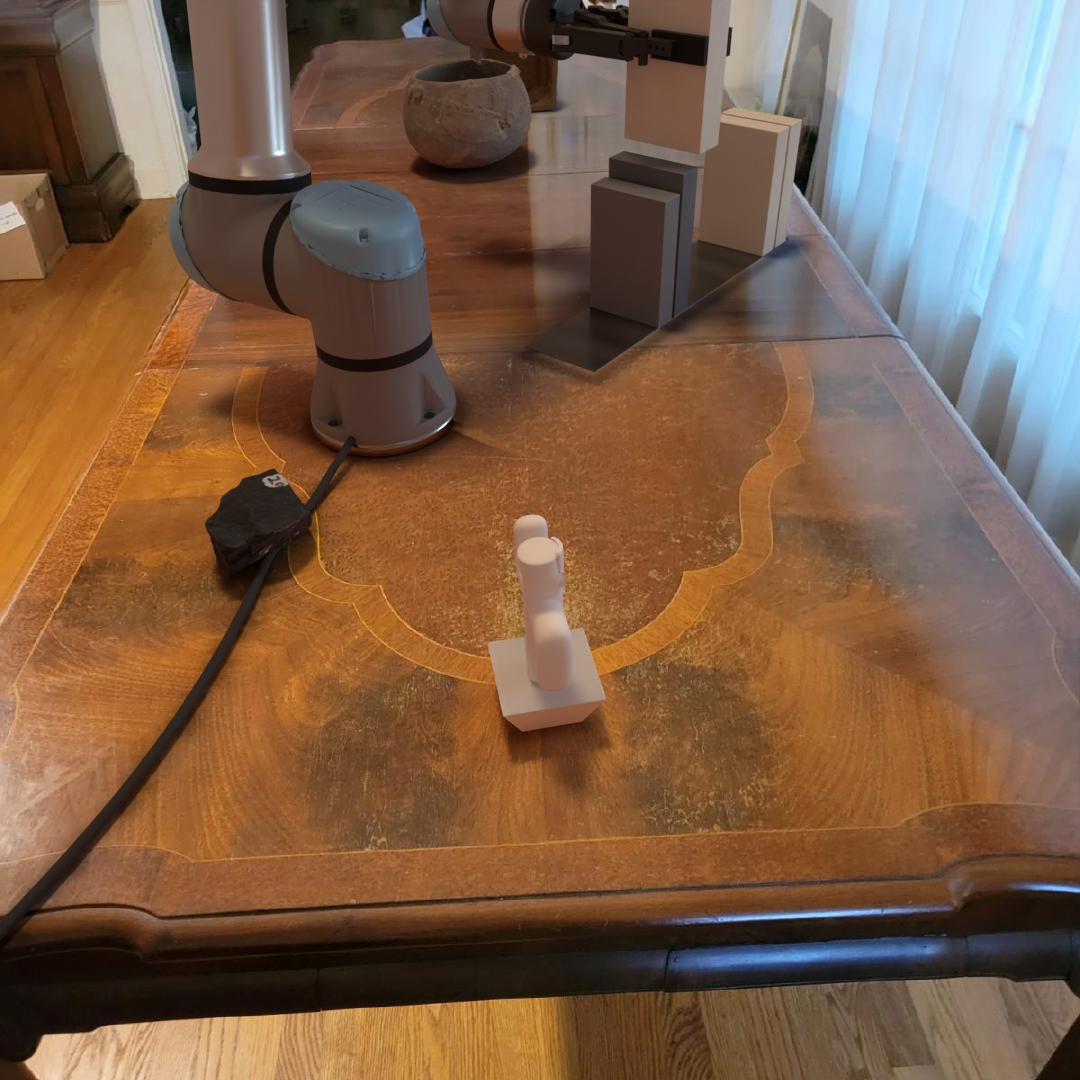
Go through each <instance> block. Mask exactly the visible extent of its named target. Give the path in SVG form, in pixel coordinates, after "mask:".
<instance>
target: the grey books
mask: <svg viewBox="0 0 1080 1080" xmlns="http://www.w3.org/2000/svg"><path fill="white" fill-rule="evenodd" d="M698 172H699V167H698V166H696V165H690V164H686V163H681V162H677V161H674V160H673V161H672V160H667V159H663V158H658V157H654V156H649V155H644V154H640V153H636V152H631V151H627V150H622V151H620V152H618V153H616V154H614V155H612V156H610V157H608V176H605V177H603V178H601V179H599V180H597V181H595V182H592V183H591V184H590V232H589V233H590V238H589V239H590V242H589V243H590V244H589V248H590V249H589V307H593V308H596V309H599V310H602V311H605V312H609V313H612V314H615V315H618V316H621V317H624V318H627V319H631V320H634V321H637V322H640V323H643V324H646V325H649V326H652V327H656V328H659V327H660V328H661V326H662V325H663V326H665V325H666V324H667V323H669V322H670V321H672V320H673V319H672V317H675V316H676V317H678V316H679V315H681V314H682V313H684V312H685V311H687V310H688V309H687V304H688V291H689V278H690V265H691V252H692V244H693V236H694V226H695V225H694V224H695V212H696V201H697V200H696V198H697V188H698V187H697V186H698V185H697V184H698V174H699V173H698ZM684 310H685V311H684ZM681 312H682V313H681ZM680 313H681V314H680ZM678 314H679V315H678ZM677 315H678V316H677ZM676 317H675V318H676ZM671 319H672V320H671ZM669 320H670V321H669ZM668 321H669V322H668ZM665 323H666V324H665ZM663 326H662V327H663ZM660 328H659V329H660Z"/></svg>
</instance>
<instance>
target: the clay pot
mask: <svg viewBox="0 0 1080 1080" xmlns="http://www.w3.org/2000/svg"><path fill="white" fill-rule="evenodd" d="M519 74H520V70H519V69H518V68H517V67H516V66H515V65H512V66H511V65H509V64H506V63H503V62H500V61H495V60H490V59H481V60H480V61H478V62H477V61H475V60H474V59H470V58H463V59H457V60H449V61H443V62H438V63H434V64H431V65H428V66H426V67H422V68H420V69H418V70H416V71H415V72H413V74H412V75H411V77H410V78H409V80H408V82H407V85H406V88H405V92H404V98H403V107H402V120H403V127H404V131H405V135H406V136H407V140H408V141H409V144H410V145H411V146H412V148H413V149H414V150H415V152H416V153H417V154H418V155H419V156H420V157H421V158H422V159H424V160H425V161H427V162H429V163H431V164H432V165H435V166H440V167H443V168H448V169H473V168H481V167H486V166H488V165H492V164H495V163H497V162H499V161H501V160H503V159H504V158H506V157H508V156H510V155H511V154H513V153H514V152H515V151H516V150H517V149H518V148H519V147H521V145H522V144H523V142H524V141H525V140H526V138H527V136H528V134H529V132H530V128H531V121H532V112H531V107H530V101H529V97H528V94H527V90H526V88H525V85H524V83H523V81H522V79H521V77H520V76H519Z"/></svg>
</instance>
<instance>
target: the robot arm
mask: <svg viewBox="0 0 1080 1080" xmlns="http://www.w3.org/2000/svg"><path fill="white" fill-rule="evenodd" d="M286 7H287V6H286V0H186V8H187V9H186V10H187V19H188V29H189V38H190V47H191V48H190V49H191V56H192V57H191V58H192V65H193V66H192V69H193V76H194V85H195V86H194V87H195V96H196V106H197V115H198V124H199V134H200V143H201V145H200V147H199V149H198V150H197V152H195V154H193V156H192V157H191V158H190V159H189V160H188V161H187V163H186V164H187V167H186V169H187V177H188V180H186V181H185V182H184V183H183V184H182V185H181V186H180V187H179V189H178V190H177V191H176V194H175V197H176V201H175V202H174V203H172V204H171V205H170V209H169V216H168V233H169V240H170V244H171V247H172V250H173V254H174V256H175V258H176V260H177V262H178V263H179V265H180V267H181V269H182V270H183V272H185V274H186V275H187V276H188V277H189V278H190V279H191V281H193V282H194V283H195V284H197V285H198V286H200V287H201V288H202V289H205V290H206V291H209V292H212V293H215V294H218V295H220V296H221V297H222V298H225V299H227V300H229V301H231V302H235V303H236V302H237V303H238V302H239V303H243V304H245V303H246V304H250V305H254V306H256V307H257V306H258V307H261V308H264V309H268V310H271V311H272V310H273V311H275V312H276V311H277V312H280V313H284V314H288V315H291V316H296V317H299V318H303V319H306V320H308V321H309V322H310V323H311V329H312V334H313V339H314V345H315V350H316V354H317V355H316V356H317V362H316V367H315V374H314V378H313V379H314V380H313V386H312V391H311V397H310V404H309V412H310V413H309V415H310V421H311V426H312V430H313V433H314V435H315V437H316V438H317V439H318V440H319V441H320V442H321V443H322V444H324V445H325V446H327V447H329V448H331V449H333V450H335V451H337V454H336V456H335V457H334V458H333V460H332V461H331V464H330V465H329V467H328V468H327V470H326V471H325V473H324V475H323V476H322V479H321V480H320V482H319V483H318V485H317V487H316V489H315V490H314V491H313V493H312V495H311V496H310V497H309V498H308V500H307V501H306V502H305V503H304V504H305V506H306V507H307V509H308V511H309V512H310V513H311V512H312V510H313V509H314V508H315V507H316V505H317V504H318V502H319V501H320V500H321V499H322V497H323V496H324V494H325V492H326V490H327V488H328V487H329V485H330V483H331V482H332V480H333V478H334V477H335V475H336V473H337V472H338V470H339V468H340V467H341V465H342V464H343V463H344V461H345V459H346V458H347V456H348V455H352V456H353V455H354V456H360V457H387V456H396V455H400V454H405V453H409V452H413V451H415V450H419V449H421V448H424V447H426V446H428V445H430V444H432V443H435V442H436V441H437V440H439V439H440V438H442V437H443V436H445V434H447V433H448V432H449V431H450V430H451V428H452V427H453V425H454V424H455V423H456V420H455V419H453V417H454V415H455V413H456V411H457V406H458V405H457V404H458V403H457V402H458V401H457V396H456V392H455V389H454V386H453V384H452V382H451V380H450V377H449V375H448V374H447V371H446V369H445V367H444V365H443V363H442V361H441V358H440V356H439V354H438V352H437V350H436V348H435V346H434V339H433V338H434V337H433V329H432V319H431V308H430V297H429V286H428V285H429V284H428V274H427V263H426V258H427V250H426V249H427V248H426V244H425V240H424V237H423V234H422V229H421V221H420V217H419V215H418V213H417V212H418V211H417V209H416V207H415V206H414V204H413V203H412V202H411V201H410V200H409V199H408V198H407V197H406V196H405V195H404V194H403V193H400V192H399V191H397V190H396V189H394V188H391V187H390V186H387V185H383V184H380V183H377V182H373V181H368V180H362V179H353V180H352V181H346V180H343V179H329V180H323V181H319V182H316V183H312V181H313V179H312V166H311V165H310V164H309V162H307V161H306V159H305V158H304V157H303V156H302V155H300V154H299V152H298V151H297V149H296V148H295V144H294V142H295V141H294V126H293V109H292V92H291V91H292V90H291V76H290V75H291V74H290V73H291V72H290V58H289V56H290V55H289V43H288V42H289V41H288V25H287V23H288V22H287V10H286V9H287V8H286ZM628 13H629V6H626V5H623V4H617V5H615V8H607V7H604V6H603V5H600V4H590V5H587V7H586V5H585V3H584V1H583V0H426V14H427V19H428V21H429V24H430V26H431V28H432V30H433V31H434V33H436V35H437V36H438V37H440V38H442V39H444V40H445V41H448V42H454V43H457V44H460V45H462V46H466V47H470V46H476V47H483V48H490V49H497V50H502V51H509V52H517V53H519V57H520V58H522V59H525V58H526V57H527V55H533V56H534V55H536V56H538V57H542V58H548V59H553V60H558V62H559V61H561V62H562V61H566V60H568V59H570V58H572V57H573V56H574V54H576V55H577V54H578V55H584V56H591V57H596V58H604V59H610V60H617V61H625V62H626V63H627V62H629V61H631V60H633V57H637V58H638V66H646V65H648V54H650V55H651V56H650V58H653V59H659V60H665V61H671V62H678V63H684V64H690V65H697V66H703V67H704V66H706V65H707V60H708V46H709V36H703V35H696V34H688V33H681V32H674V31H667V30H660V29H654V30H652V33H651V37H650V36H649V31H646V30H640V29H636V28H631V27H628ZM732 37H733V27H732V26H729V30H728V41H727V52H726V58H727V57H729V56H731V49H732V48H731V47H732ZM279 551H280V550H279V549H276V550H274V551H272V552H269V553H268V554H266V555H265V556H264V557H263V559H262V560H260V563H259V565H258V567H257V569H256V571H255V573H254V576H253V578H252V580H251V582H250V585H249V587H248V589H247V592H246V594H245V595H244V597H243V600H242V601H241V604H240V605H239V607H238V609H237V610H236V613H235V614H234V617H233V619H232V620H231V622H230V624H229V626H228V628H227V629H226V631H225V632H224V633H225V634H224V635H223V637H222V638H221V641H220V642H219V643H218V646H217V647H216V649H215V651H214V652H213V655H212V656H211V658H210V659H209V660H208V663H207V664H206V666H205V667H204V669H203V670H202V672H201V674H200V675H199V677H198V679H197V680H196V682H194V685H193V686H192V688H191V690H190V691H189V693H188V694H187V696H186V697H185V699H184V700H183V701H182V704H181V705H180V706H179V708H178V710H177V711H176V712H175V714H174V715H173V716H172V718H171V720H170V721H169V722H168V724H167V725H166V726H165V728H164V729H163V731H162V732H161V733H160V735H159V736H158V737H157V739H156V740H155V742H154V743H153V745H152V746H151V747H150V748H149V750H148V751H147V753H146V754H145V755H144V756H143V758H142V759H141V760H140V762H139V763H138V764H137V766H136V767H135V768H134V770H133V771H132V772H131V773H130V775H128V777H127V778H126V780H125V781H124V782H123V783H122V785H121V786H120V787H119V789H118V790H117V791H116V792H115V794H114V795H113V796H112V797H111V798H110V800H108V802H107V803H106V804H105V805H104V806H103V808H102V809H101V810H100V811H99V812H98V813H97V815H96V816H95V817H94V818H93V819H92V821H91V822H90V823H89V824H88V825H87V826H86V827H85V829H83V831H82V832H80V834H79V835H78V837H76V839H74V841H73V842H72V844H71V845H70V846H69V847H68V848H66V850H65V851H64V852H63V854H62V855H61V856H60V857H59V858H58V859H57V860H56V862H54V863H53V865H51V866H50V868H49V869H48V870H47V871H46V872H45V873H44V874H43V876H42V877H41V878H40V879H39V880H38V881H37V882H36V883H35V884H34V885H33V886H32V887H31V888H30V889H29V890H28V892H27V893H26V894H25V895H24V896H23V897H22V898H21V899H20V900H19V901H18V902H17V903H16V904H15V905H14V906H13V907H12V908H11V909H10V910H9V911H8V912H7V913H6V914H5V915H4V916H3V917H2V918H1V919H0V941H1V940H3V938H5V936H6V935H7V934H8V933H9V932H10V931H11V930H13V928H14V927H15V926H16V925H17V924H18V923H19V921H21V919H23V918H24V916H26V914H28V912H29V911H30V910H32V908H33V907H34V906H35V905H36V904H37V902H38V901H39V900H40V899H41V898H42V897H43V896H44V895H45V894H46V893H47V892H48V891H49V890H50V888H51V887H52V886H53V885H54V884H55V883H56V882H57V881H58V880H59V879H60V878H61V876H62V875H63V874H64V873H65V872H66V871H67V869H68V868H69V867H70V866H71V865H72V864H73V863H74V862H75V860H76V859H78V857H79V856H80V855H81V854H82V853H83V852H84V850H85V849H86V848H87V847H88V846H89V844H90V843H91V842H92V841H93V840H94V839H95V837H96V836H97V835H98V834H99V833H100V832H101V831H102V829H103V828H104V827H105V826H106V825H107V823H108V822H109V821H110V820H111V819H112V817H113V816H114V815H115V814H116V813H117V812H118V810H119V809H120V807H122V806H123V803H125V802H126V800H128V798H129V796H131V794H132V793H133V792H134V790H135V789H136V788H137V786H138V785H139V784H140V783H141V781H142V780H143V779H144V777H145V776H146V775H147V773H149V770H151V768H152V766H153V765H154V764H155V763H156V761H157V760H158V758H159V757H160V756H161V755H162V753H163V752H164V751H165V749H166V748H167V746H168V745H169V744H170V742H172V739H173V738H174V737H175V735H176V734H177V733H178V731H179V729H180V728H181V727H182V725H183V723H184V722H185V721H186V719H187V718H188V716H189V715H190V713H191V712H192V710H193V709H194V707H195V705H196V704H197V702H198V701H199V700H200V698H201V696H202V695H203V693H204V691H205V690H206V688H207V686H208V685H209V684H210V682H211V681H212V678H213V677H214V675H215V674H216V672H217V671H218V669H219V667H220V665H221V663H222V662H223V660H224V658H225V657H226V655H227V653H228V652H229V649H230V648H231V645H232V644H233V642H234V640H235V639H236V637H237V635H238V633H239V631H240V629H241V627H242V625H243V623H244V622H245V620H246V618H247V616H248V614H249V613H250V610H251V608H252V606H253V604H254V602H255V600H256V598H257V595H258V594H259V591H260V589H261V587H262V585H263V582H264V579H265V578H266V576H267V573H268V570H269V568H270V567H271V565H272V562H273V561H274V559H275V557H276V555H277V554H278V553H279Z"/></svg>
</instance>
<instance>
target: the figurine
mask: <svg viewBox="0 0 1080 1080" xmlns="http://www.w3.org/2000/svg"><path fill="white" fill-rule="evenodd" d="M513 542H514V544H513V545H514V564H515V571H516V572H515V573H516V575H517V579H518V583H519V586H520V591H521V598H522V606H523V607H522V609H523V621H524V622H523V623H524V624H523V626H524V636H519V637H512V638H506V639H502V640H494V641H488V642H487V647H488V652H489V657H490V661H491V666H492V671H493V676H494V680H495V685H496V690H497V694H498V699H499V704H500V709H501V713H502V717H503V718H504V719H505V720H506V721H508V722H509V723H511V724H512V725H513V726H514V727H515V728H517V729H518V730H519V731H520V732H529V731H535V730H541V729H547V728H552V727H558V726H564V725H570V724H578V723H581V722H583V721H584V720H586V718H588V716H589V715H591V714H592V713H593V712H594V711H596V709H597V708H599V707H600V706H601V705H602V704H603V703H604V702H605V701H606V700H607V697H606V693H605V691H604V687H603V684H602V682H601V679H600V675H599V671H598V669H597V667H596V663H595V660H594V657H593V653H592V650H591V647H590V645H589V641H588V638H587V636H586V633H585V629H584V627H579V628H572V629H570V626H569V623H568V620H567V616H566V614H565V610H564V608H565V607H564V594H566V586H567V581H566V576H565V575H566V571H565V570H564V569H565V560H564V559H565V558H564V557H565V556H564V545H563V542H562V541H561V540H560V539H559V538H558V537H555V536H551V537H550V538H549V529H548V523H547V520H546V519H545V518H544V517H543V516H541V515H538V514H526V515H523V516H520V517H519V518H518V519H516V521H515V522H514V525H513Z"/></svg>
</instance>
